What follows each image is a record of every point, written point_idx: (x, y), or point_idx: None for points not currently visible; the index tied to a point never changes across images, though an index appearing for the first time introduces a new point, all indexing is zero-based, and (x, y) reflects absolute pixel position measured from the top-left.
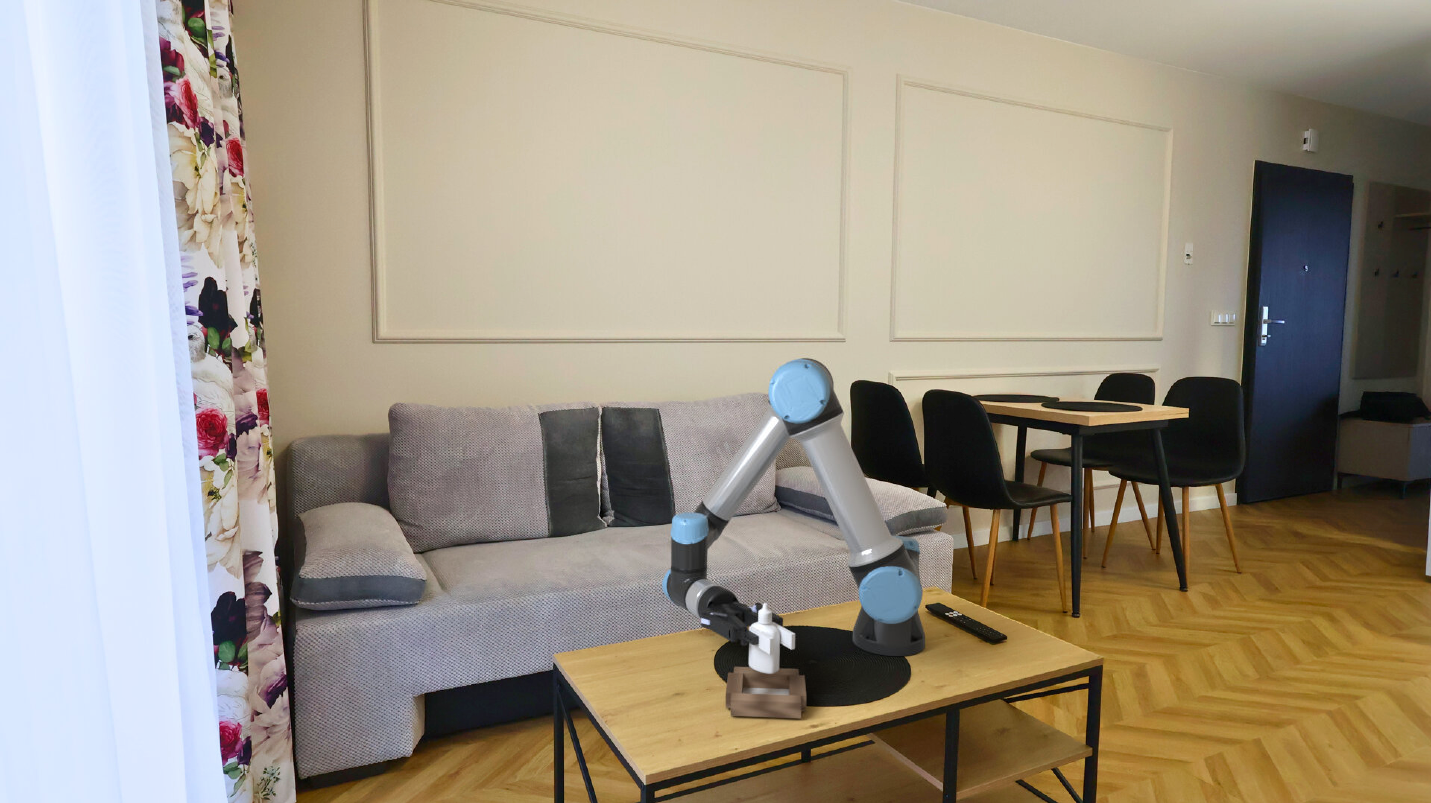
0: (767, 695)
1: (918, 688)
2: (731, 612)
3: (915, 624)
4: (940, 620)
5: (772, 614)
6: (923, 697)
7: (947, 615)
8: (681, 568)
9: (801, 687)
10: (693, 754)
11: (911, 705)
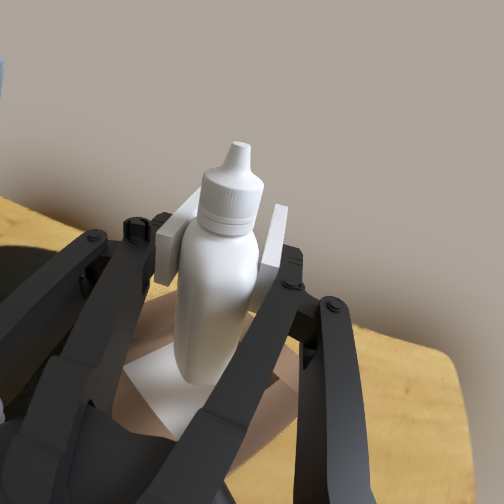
0: (240, 336)
1: (21, 234)
2: (219, 422)
3: None
4: None
5: (58, 268)
6: (45, 226)
7: None
8: None
9: (156, 306)
10: (401, 353)
11: (73, 229)
